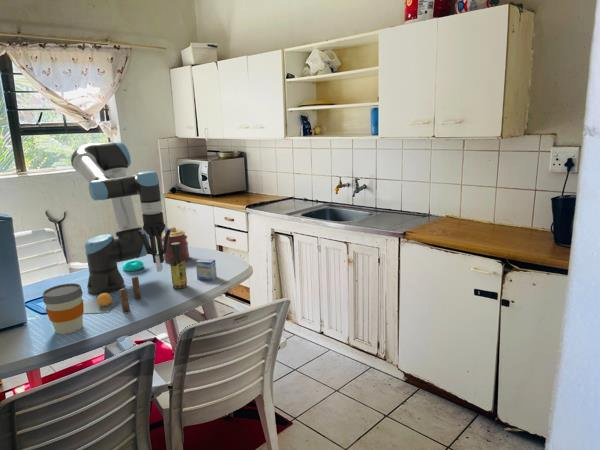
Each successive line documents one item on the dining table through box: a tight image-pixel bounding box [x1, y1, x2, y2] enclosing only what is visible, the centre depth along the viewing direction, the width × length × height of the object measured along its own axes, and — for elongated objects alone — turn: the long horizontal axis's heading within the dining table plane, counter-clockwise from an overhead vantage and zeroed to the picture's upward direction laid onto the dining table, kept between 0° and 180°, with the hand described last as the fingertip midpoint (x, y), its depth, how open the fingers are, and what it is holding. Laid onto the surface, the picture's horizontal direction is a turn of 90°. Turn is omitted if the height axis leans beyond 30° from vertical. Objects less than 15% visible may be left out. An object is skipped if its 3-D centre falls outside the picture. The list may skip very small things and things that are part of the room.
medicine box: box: [195, 258, 218, 281], centre depth 204 cm, size 8×4×9 cm, turn 76°
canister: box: [162, 226, 190, 264], centre depth 232 cm, size 13×13×18 cm
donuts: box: [122, 259, 144, 272], centre depth 223 cm, size 10×10×10 cm
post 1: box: [119, 287, 131, 314], centre depth 173 cm, size 3×3×9 cm
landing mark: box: [83, 297, 121, 315], centre depth 180 cm, size 14×14×1 cm
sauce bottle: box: [169, 242, 188, 290], centre depth 194 cm, size 7×6×20 cm
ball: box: [96, 293, 113, 307], centre depth 179 cm, size 6×6×6 cm
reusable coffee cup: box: [42, 283, 84, 335], centre depth 160 cm, size 13×12×15 cm
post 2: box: [131, 276, 142, 300], centre depth 185 cm, size 3×3×9 cm
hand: (160, 270), depth 176 cm, fingers closed
